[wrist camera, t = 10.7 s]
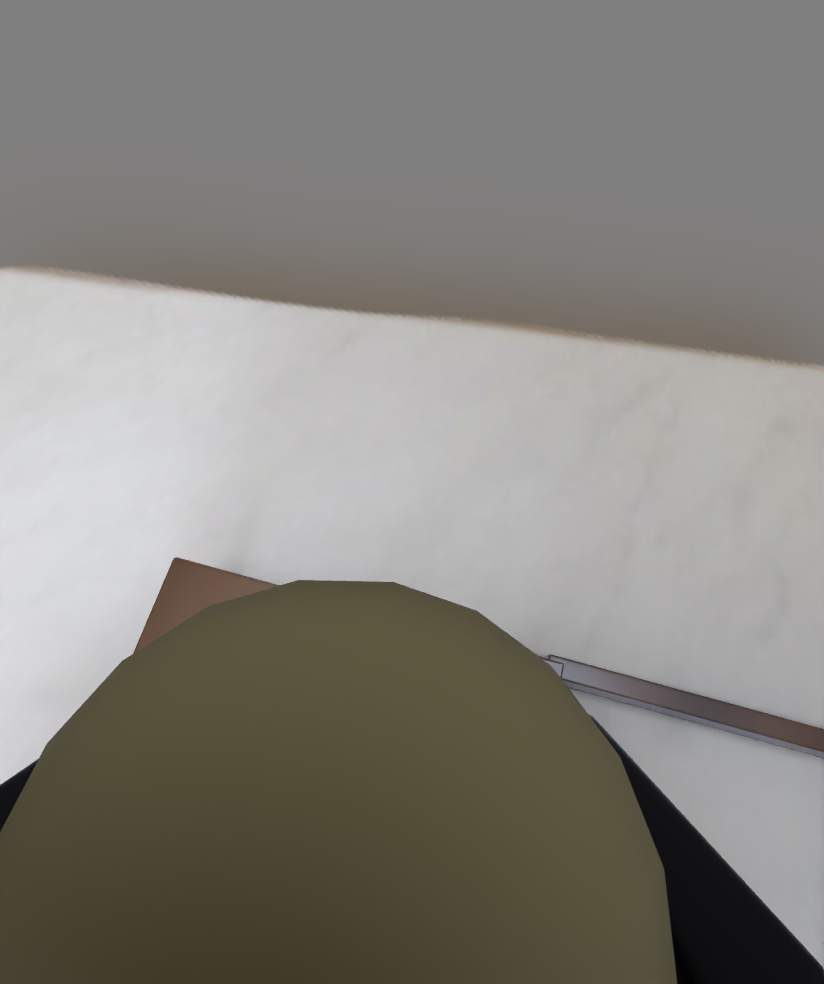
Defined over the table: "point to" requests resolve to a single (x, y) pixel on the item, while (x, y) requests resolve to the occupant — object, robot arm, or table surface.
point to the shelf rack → (206, 586)
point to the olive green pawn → (332, 811)
